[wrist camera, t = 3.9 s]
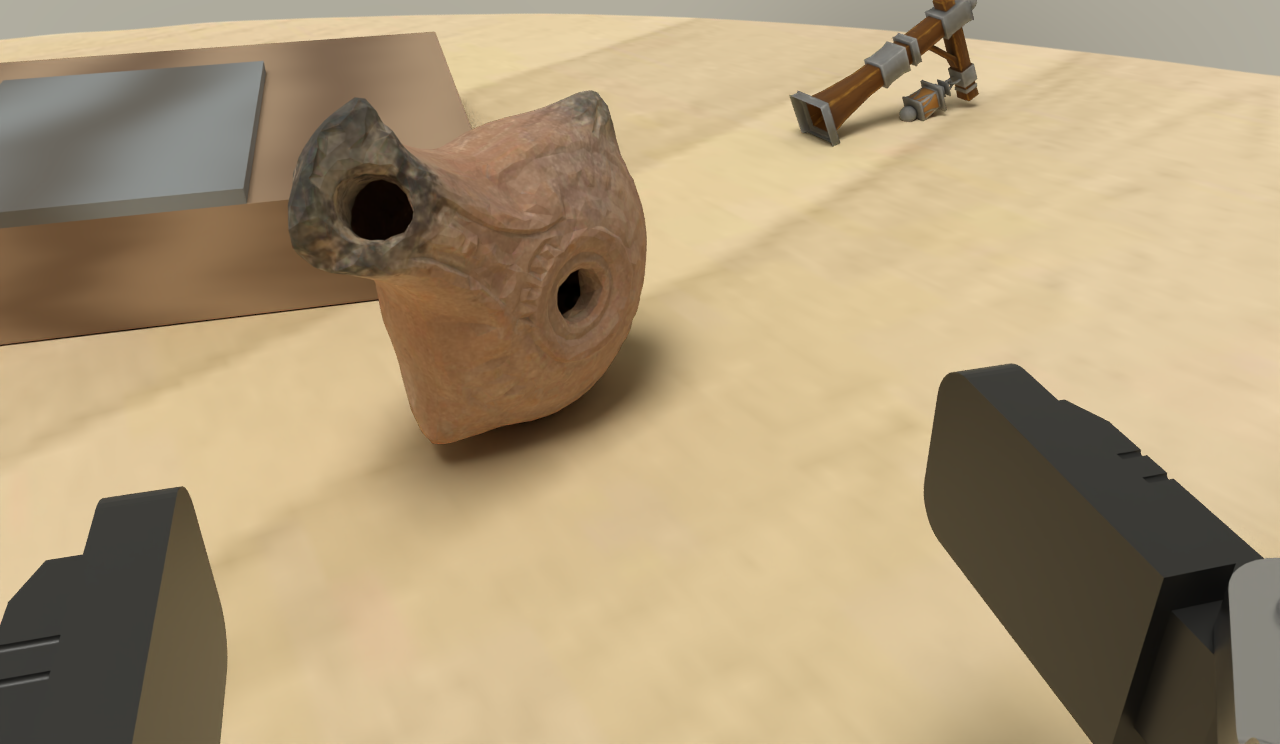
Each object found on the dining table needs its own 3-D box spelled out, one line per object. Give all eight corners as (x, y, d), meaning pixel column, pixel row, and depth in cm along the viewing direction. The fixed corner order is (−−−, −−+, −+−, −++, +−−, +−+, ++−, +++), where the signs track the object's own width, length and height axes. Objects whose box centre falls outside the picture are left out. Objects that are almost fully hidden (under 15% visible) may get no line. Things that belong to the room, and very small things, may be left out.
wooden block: (443, 109, 43) (433, 20, 41) (499, 284, 29) (489, 164, 28) (-124, 158, 39) (-162, 62, 37) (-356, 387, 25) (-431, 253, 24)
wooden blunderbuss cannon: (1007, 86, 42) (988, -20, 39) (850, 204, 40) (819, 103, 38) (972, 75, 43) (952, -29, 40) (820, 189, 42) (787, 90, 39)
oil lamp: (421, 584, 19) (355, 150, 15) (271, 507, 21) (176, 104, 17) (688, 368, 26) (692, 20, 22) (553, 324, 28) (534, -3, 24)
